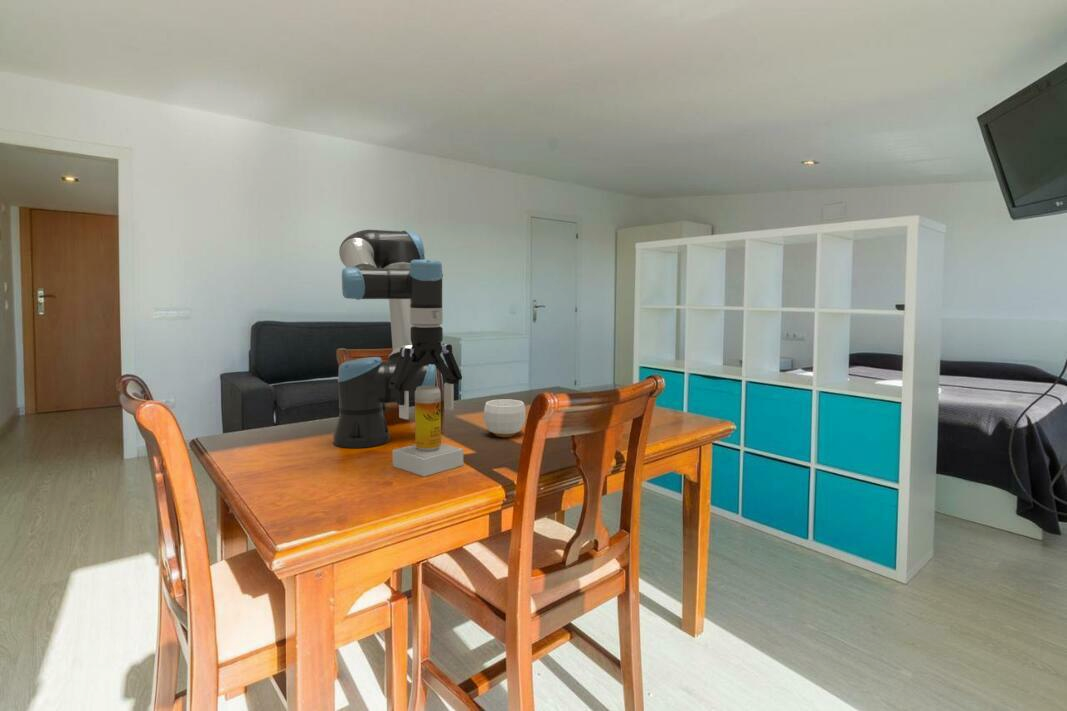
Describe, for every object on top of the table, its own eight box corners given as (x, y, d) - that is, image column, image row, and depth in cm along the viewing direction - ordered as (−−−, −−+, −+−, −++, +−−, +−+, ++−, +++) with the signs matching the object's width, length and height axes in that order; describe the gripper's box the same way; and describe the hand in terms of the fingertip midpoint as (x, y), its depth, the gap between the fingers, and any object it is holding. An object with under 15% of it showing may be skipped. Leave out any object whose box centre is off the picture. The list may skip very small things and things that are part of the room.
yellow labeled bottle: (435, 452, 137) (435, 389, 136) (411, 451, 138) (410, 388, 137) (444, 446, 143) (444, 385, 142) (421, 444, 144) (420, 384, 143)
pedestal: (392, 466, 141) (392, 448, 140) (432, 455, 150) (431, 439, 149) (424, 476, 133) (423, 458, 132) (463, 465, 142) (463, 448, 141)
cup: (477, 437, 169) (477, 405, 168) (493, 428, 180) (493, 397, 179) (517, 441, 165) (517, 407, 164) (531, 431, 177) (531, 400, 176)
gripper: (391, 329, 126) (393, 425, 128) (476, 324, 144) (475, 408, 147) (371, 327, 131) (373, 419, 133) (455, 322, 149) (456, 403, 152)
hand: (427, 413), depth 140 cm, fingers open, 13 cm apart
